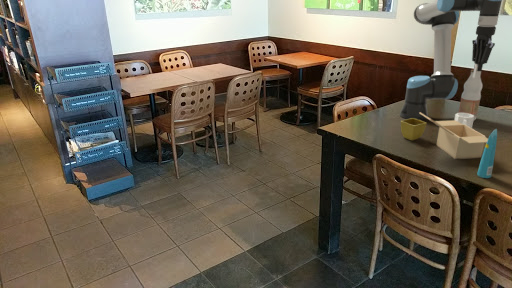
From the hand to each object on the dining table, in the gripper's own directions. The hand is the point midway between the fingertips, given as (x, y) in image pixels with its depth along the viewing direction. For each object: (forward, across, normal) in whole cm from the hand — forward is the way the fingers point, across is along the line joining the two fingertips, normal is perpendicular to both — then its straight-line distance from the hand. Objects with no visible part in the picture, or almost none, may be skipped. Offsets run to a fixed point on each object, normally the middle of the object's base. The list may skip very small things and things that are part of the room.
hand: (476, 77), depth 179 cm
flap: (+20, +17, -20) cm, 33 cm away
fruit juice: (+31, -28, +18) cm, 45 cm away
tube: (+31, +41, -17) cm, 54 cm away
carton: (+30, +17, -13) cm, 37 cm away
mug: (+31, -4, +1) cm, 31 cm away
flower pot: (+31, -2, -27) cm, 41 cm away
